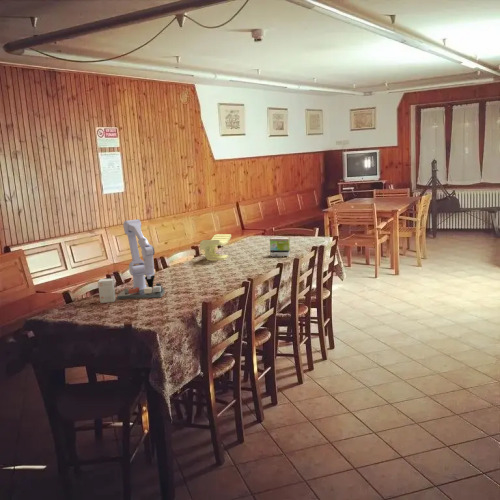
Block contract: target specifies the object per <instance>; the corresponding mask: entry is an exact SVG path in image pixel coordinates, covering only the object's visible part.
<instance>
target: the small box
mask: <svg viewBox="0 0 500 500" xmlns="http://www.w3.org/2000/svg"><path fill="white" fill-rule="evenodd" d="M97 285H98V286H97V287H98V293H99V294H98V296H99V302H100V304H103V303H104V304H106V303H115V301H116V300H117V298H116V291H115V280H114V278H100V279H99V280H98V281H97Z"/></svg>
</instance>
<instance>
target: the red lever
mask: <svg viewBox="0 0 500 500" xmlns="http://www.w3.org/2000/svg"><path fill="white" fill-rule="evenodd" d="M133 288H134V287H133ZM133 288H130V289H129V288H128V287H127V288H124V290H123V291H125V295H128V294H132V293H137V292H139V287H136V288H134V289H133Z"/></svg>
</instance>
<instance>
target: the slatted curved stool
mask: <svg viewBox="0 0 500 500" xmlns="http://www.w3.org/2000/svg"><path fill="white" fill-rule="evenodd" d="M231 238H232V234H231V233H229V234H228V233H227V234H225V233H223V234H222V233H220V234H219V233H217V234H214V235H213V236H212V238H211V239H202V240H201V241H200V242H199V247H200V250H202V251H203V250H204V255H205V259H206V260H207V261H217V260H224V261H225V260H227V259H229V258H230V257H229V255H227V254H224V255H223V254H218V253H216V247H217V246H225V245H226V244H229V242H230V240H231ZM228 257H229V258H228ZM226 258H227V259H226Z"/></svg>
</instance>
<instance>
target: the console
mask: <svg viewBox="0 0 500 500" xmlns="http://www.w3.org/2000/svg"><path fill="white" fill-rule="evenodd" d="M165 292H166V291H165V288H164V286H162V285H161V292H154V291H153V288H152V293H145V294H144V290H139V292H137V293H132V294H128V295H125V291H124V290H122V291H121V292H119V294H117V295H116V297H117V298H116V300H128V299H129V300H130V299H133V300H134V299H160V298H162V297H163V295H164V293H165Z"/></svg>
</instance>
